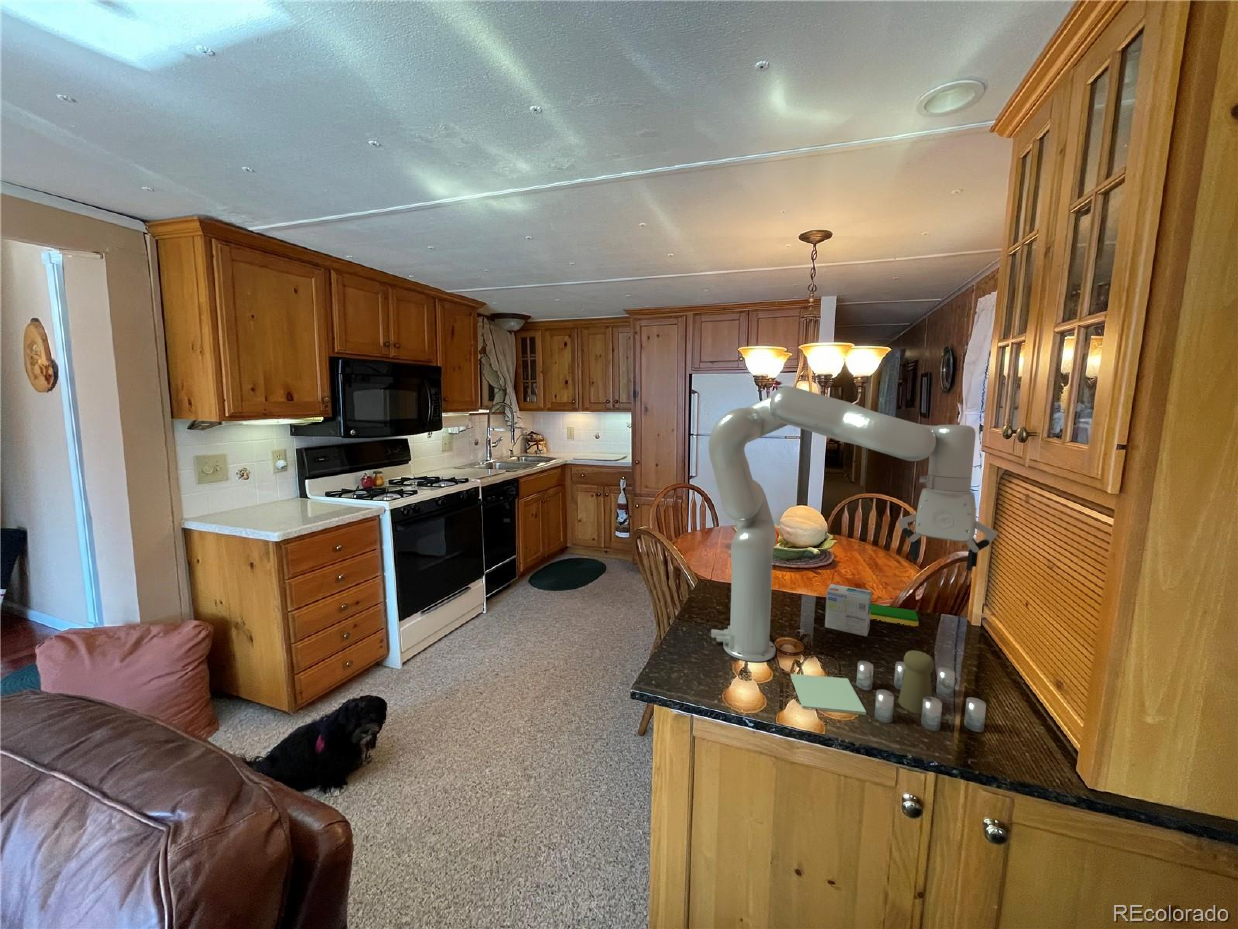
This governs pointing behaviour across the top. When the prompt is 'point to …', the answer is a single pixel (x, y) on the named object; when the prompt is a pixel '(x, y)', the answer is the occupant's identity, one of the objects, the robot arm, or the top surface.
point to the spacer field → (930, 704)
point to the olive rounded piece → (916, 681)
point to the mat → (827, 694)
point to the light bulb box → (848, 609)
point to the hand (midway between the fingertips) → (941, 564)
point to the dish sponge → (894, 615)
